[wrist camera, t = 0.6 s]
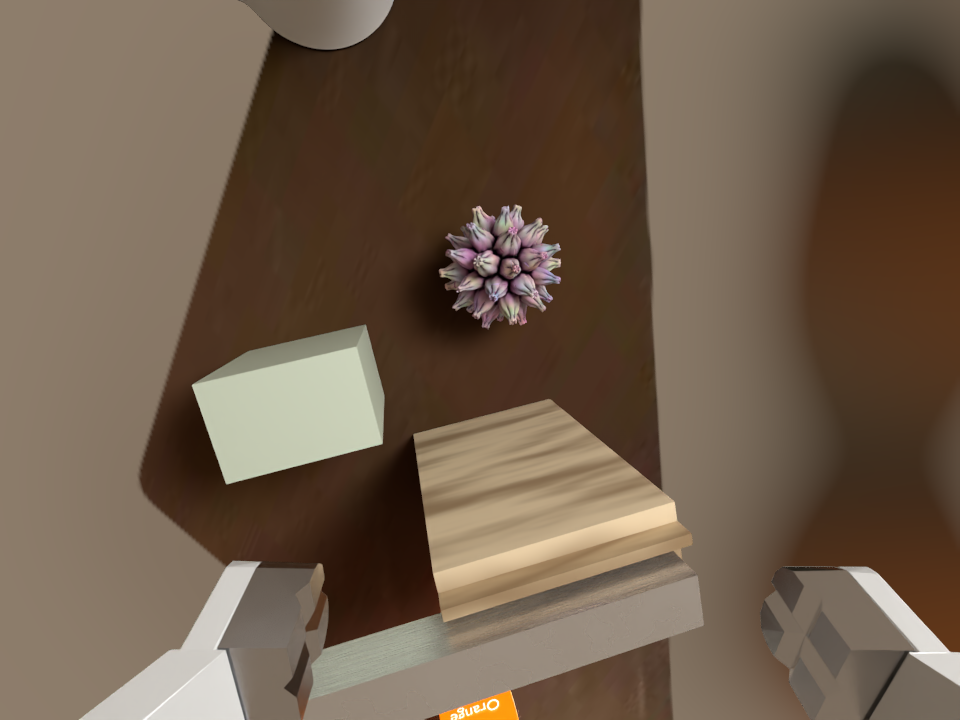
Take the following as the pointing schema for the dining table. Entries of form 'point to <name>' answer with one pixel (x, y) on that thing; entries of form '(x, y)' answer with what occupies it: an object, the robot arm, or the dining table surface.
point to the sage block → (293, 404)
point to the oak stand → (532, 507)
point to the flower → (501, 266)
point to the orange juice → (485, 709)
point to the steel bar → (503, 644)
